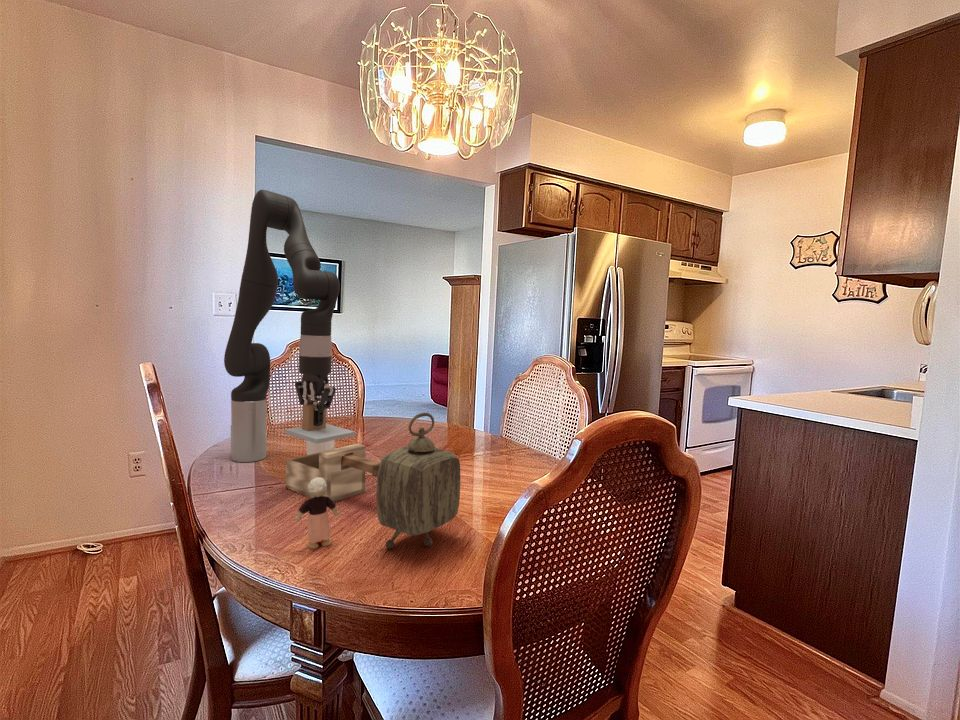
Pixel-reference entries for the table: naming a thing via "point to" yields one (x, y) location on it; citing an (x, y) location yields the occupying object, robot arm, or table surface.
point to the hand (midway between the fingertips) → (314, 424)
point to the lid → (317, 428)
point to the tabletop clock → (417, 487)
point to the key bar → (361, 464)
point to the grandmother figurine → (317, 514)
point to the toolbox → (327, 472)
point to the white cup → (319, 446)
